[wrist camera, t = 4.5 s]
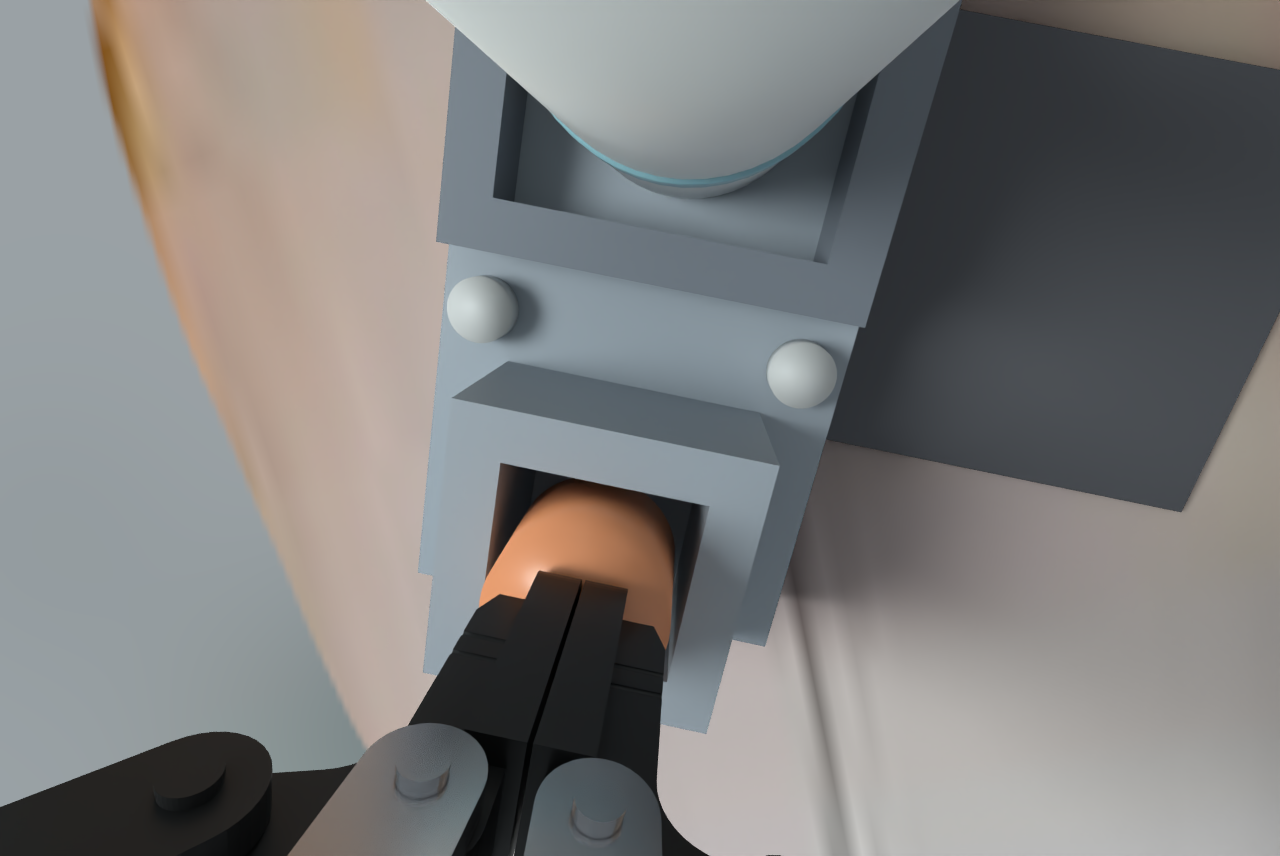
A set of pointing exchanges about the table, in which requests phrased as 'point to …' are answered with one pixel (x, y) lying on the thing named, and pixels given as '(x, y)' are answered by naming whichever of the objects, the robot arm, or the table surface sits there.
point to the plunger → (593, 548)
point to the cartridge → (692, 75)
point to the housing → (652, 345)
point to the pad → (1074, 264)
